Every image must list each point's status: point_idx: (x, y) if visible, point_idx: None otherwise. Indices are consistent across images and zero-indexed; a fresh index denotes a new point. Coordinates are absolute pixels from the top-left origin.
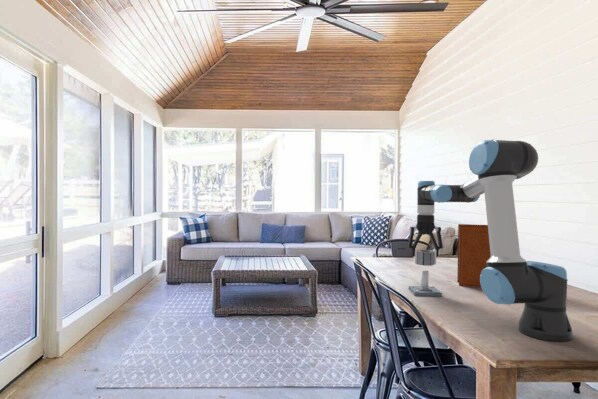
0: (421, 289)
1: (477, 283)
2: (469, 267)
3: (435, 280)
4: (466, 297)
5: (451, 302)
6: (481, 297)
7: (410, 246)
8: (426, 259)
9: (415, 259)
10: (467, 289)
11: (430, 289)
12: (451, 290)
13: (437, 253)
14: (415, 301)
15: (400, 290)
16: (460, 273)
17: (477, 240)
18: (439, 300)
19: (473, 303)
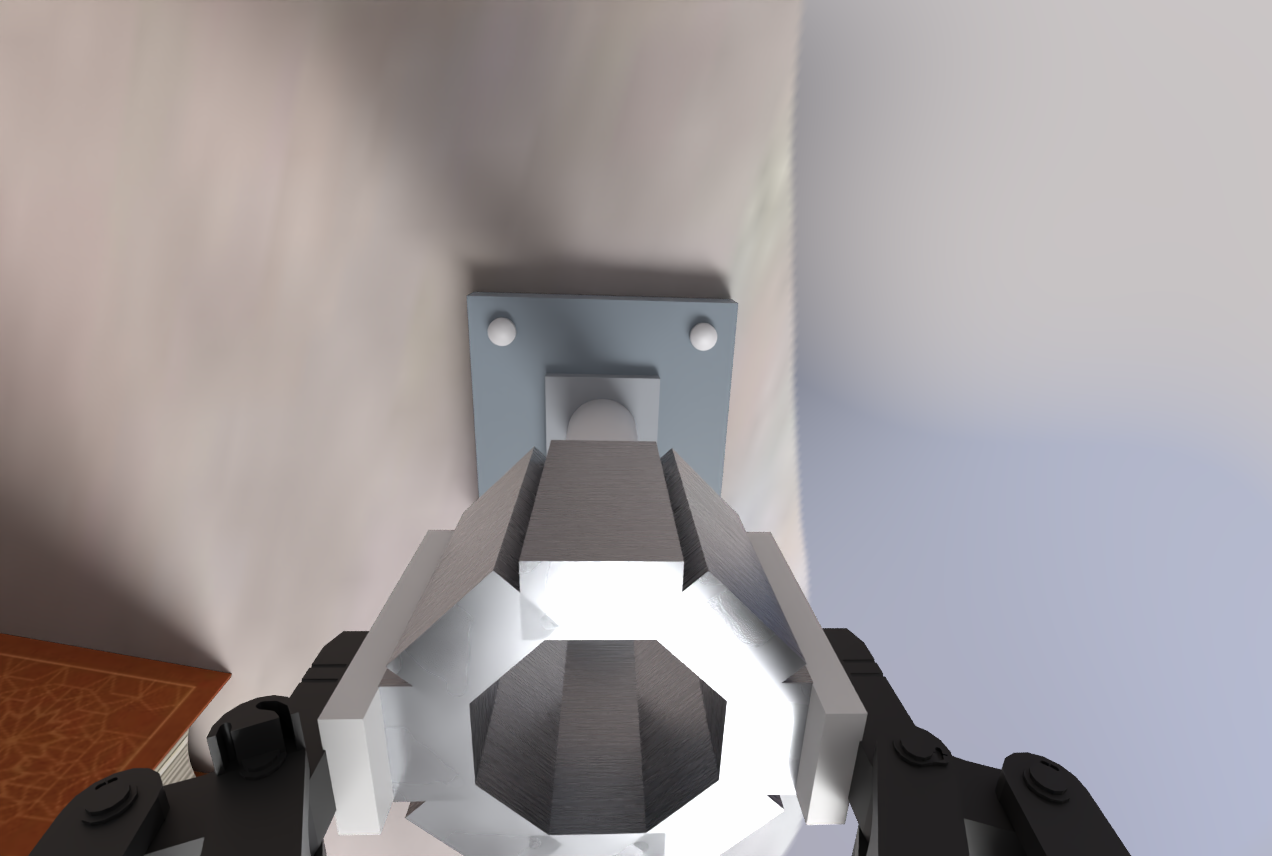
0: (649, 379)
1: (42, 666)
2: None
3: (402, 802)
4: (236, 266)
5: (432, 54)
6: (82, 274)
7: (1047, 783)
8: (617, 483)
9: (785, 572)
10: (176, 553)
11: (559, 380)
12: (333, 509)
13: (323, 680)
14: (790, 80)
15: (797, 477)
16: (139, 764)
17: None
18: (537, 132)
19: (204, 20)
